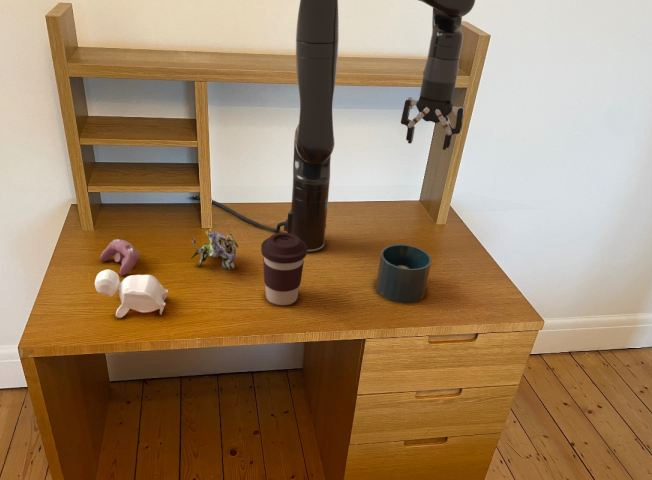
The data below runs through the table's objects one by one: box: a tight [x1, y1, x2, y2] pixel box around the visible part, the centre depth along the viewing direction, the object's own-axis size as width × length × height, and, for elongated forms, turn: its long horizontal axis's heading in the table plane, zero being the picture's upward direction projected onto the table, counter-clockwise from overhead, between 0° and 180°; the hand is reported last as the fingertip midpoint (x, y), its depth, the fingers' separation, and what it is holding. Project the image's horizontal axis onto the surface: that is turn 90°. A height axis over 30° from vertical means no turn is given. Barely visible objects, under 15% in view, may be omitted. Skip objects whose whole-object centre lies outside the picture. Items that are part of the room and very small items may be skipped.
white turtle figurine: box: [94, 268, 169, 319], centre depth 125 cm, size 8×8×15 cm
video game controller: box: [99, 238, 140, 277], centre depth 140 cm, size 10×5×7 cm, turn 47°
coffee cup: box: [260, 232, 308, 306], centre depth 130 cm, size 10×10×15 cm
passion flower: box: [190, 227, 239, 272], centre depth 141 cm, size 11×11×12 cm
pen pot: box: [375, 243, 432, 304], centre depth 137 cm, size 12×12×9 cm
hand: (427, 145), depth 143 cm, fingers open, 8 cm apart
